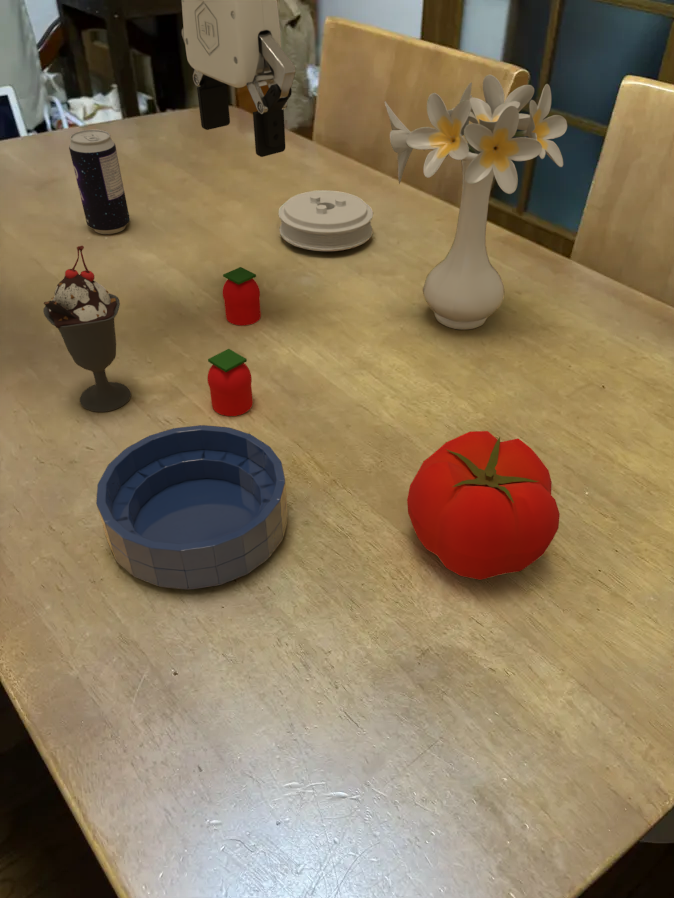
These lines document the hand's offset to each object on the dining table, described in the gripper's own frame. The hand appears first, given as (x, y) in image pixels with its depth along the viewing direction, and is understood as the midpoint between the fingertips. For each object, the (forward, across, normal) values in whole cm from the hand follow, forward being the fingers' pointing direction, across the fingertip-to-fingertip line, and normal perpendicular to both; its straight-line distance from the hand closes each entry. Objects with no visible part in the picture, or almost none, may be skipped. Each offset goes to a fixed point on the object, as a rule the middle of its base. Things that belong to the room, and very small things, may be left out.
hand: (242, 139), depth 76 cm
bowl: (+19, +27, -25) cm, 41 cm away
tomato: (+19, +43, -9) cm, 48 cm away
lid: (+19, -9, +18) cm, 28 cm away
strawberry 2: (+19, +15, -13) cm, 27 cm away
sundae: (+19, +6, -22) cm, 30 cm away
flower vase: (+19, +17, +16) cm, 30 cm away
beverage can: (+19, -30, -4) cm, 35 cm away
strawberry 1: (+19, +1, -3) cm, 19 cm away
